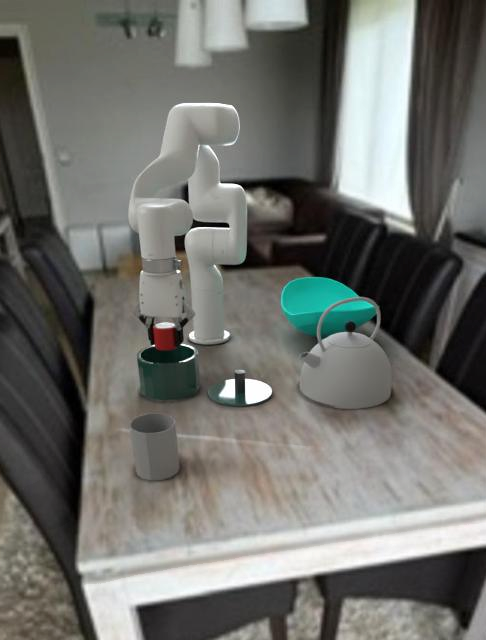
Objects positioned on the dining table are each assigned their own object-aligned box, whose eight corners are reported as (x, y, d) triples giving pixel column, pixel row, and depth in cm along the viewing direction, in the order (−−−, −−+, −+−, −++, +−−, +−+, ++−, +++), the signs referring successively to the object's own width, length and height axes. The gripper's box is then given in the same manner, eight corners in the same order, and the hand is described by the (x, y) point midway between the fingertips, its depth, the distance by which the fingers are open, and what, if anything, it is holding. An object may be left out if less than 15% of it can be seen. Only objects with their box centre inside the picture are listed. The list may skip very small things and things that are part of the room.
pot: (153, 376, 149) (149, 341, 144) (206, 380, 147) (204, 345, 142) (132, 399, 137) (127, 362, 132) (189, 404, 135) (187, 366, 130)
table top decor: (396, 352, 164) (402, 306, 156) (305, 361, 158) (308, 314, 151) (342, 314, 196) (346, 274, 189) (266, 320, 190) (266, 279, 183)
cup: (156, 454, 115) (151, 409, 109) (188, 465, 111) (184, 420, 105) (127, 472, 109) (120, 425, 104) (158, 485, 105) (153, 437, 100)
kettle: (324, 418, 128) (331, 319, 116) (275, 383, 145) (276, 293, 133) (410, 396, 138) (425, 303, 125) (354, 366, 154) (362, 281, 142)
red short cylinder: (159, 341, 139) (157, 321, 136) (181, 343, 138) (179, 322, 135) (151, 349, 134) (149, 328, 131) (174, 351, 133) (172, 329, 130)
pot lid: (217, 381, 147) (216, 358, 143) (276, 385, 144) (277, 362, 141) (200, 406, 134) (199, 381, 131) (265, 411, 131) (265, 386, 128)
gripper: (201, 263, 127) (205, 341, 137) (129, 260, 131) (138, 337, 140) (191, 270, 121) (196, 351, 131) (116, 267, 124) (127, 347, 134)
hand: (166, 343), depth 136 cm, fingers closed on red short cylinder, 5 cm apart
